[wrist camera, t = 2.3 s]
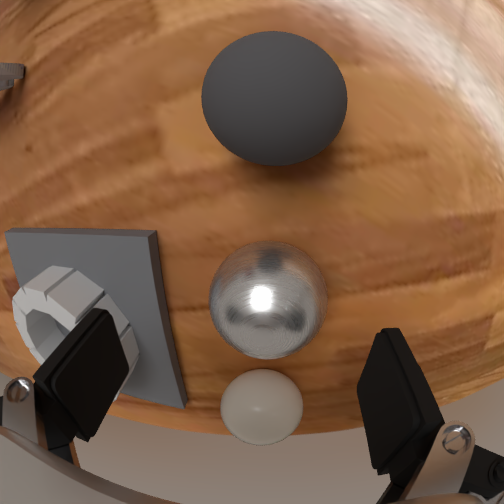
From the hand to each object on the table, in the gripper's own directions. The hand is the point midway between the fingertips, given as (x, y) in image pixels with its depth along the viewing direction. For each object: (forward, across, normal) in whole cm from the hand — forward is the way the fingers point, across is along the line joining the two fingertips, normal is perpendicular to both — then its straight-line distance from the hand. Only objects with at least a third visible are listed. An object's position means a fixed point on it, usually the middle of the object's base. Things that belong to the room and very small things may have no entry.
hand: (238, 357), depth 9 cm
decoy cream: (+3, -1, +8) cm, 8 cm away
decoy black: (+3, -1, -8) cm, 9 cm away
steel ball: (+3, -1, 0) cm, 3 cm away
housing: (+6, +12, +5) cm, 14 cm away
